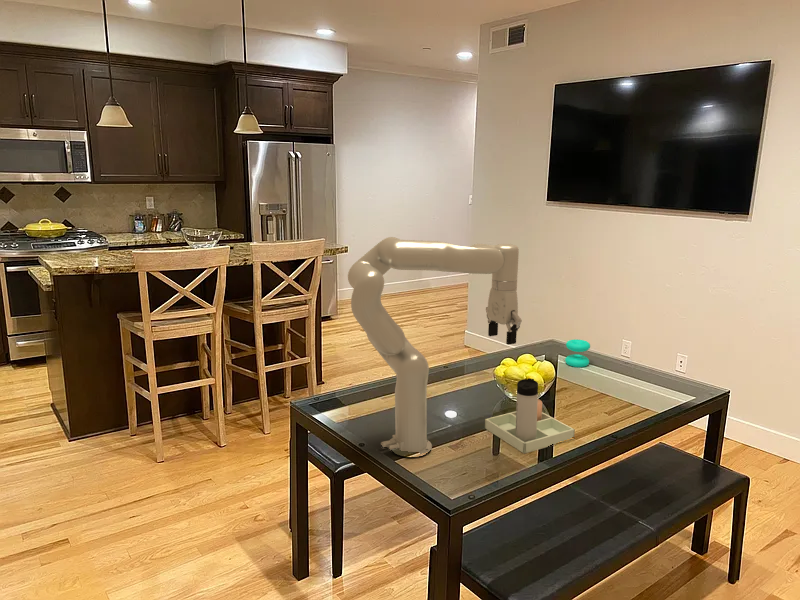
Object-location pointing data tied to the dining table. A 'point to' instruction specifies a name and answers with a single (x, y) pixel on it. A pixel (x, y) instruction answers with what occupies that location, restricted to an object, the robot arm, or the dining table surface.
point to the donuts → (577, 359)
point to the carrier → (545, 434)
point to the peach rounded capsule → (539, 410)
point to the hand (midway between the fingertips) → (501, 339)
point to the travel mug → (526, 409)
